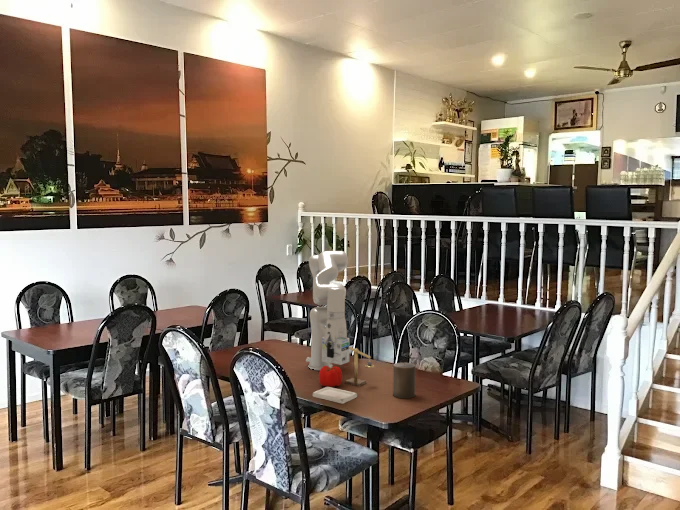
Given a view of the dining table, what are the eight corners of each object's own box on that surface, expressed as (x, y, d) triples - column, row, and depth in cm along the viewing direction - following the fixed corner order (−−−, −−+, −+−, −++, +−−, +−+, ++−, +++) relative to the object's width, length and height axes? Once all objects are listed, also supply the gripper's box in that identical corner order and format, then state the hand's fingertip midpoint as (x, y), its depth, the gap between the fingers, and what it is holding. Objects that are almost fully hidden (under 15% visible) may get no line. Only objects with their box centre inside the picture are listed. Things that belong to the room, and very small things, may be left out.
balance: (334, 381, 284) (335, 344, 283) (342, 378, 289) (342, 342, 288) (370, 388, 273) (370, 350, 271) (376, 385, 278) (377, 347, 276)
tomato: (315, 388, 272) (315, 369, 271) (323, 381, 284) (323, 362, 283) (338, 390, 269) (338, 371, 268) (345, 383, 281) (345, 364, 280)
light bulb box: (349, 362, 259) (350, 337, 258) (341, 365, 253) (341, 340, 253) (329, 358, 265) (329, 334, 264) (320, 361, 259) (321, 337, 258)
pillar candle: (414, 399, 258) (415, 365, 257) (391, 397, 260) (392, 364, 259) (415, 392, 268) (416, 360, 267) (393, 391, 269) (394, 358, 268)
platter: (312, 396, 260) (312, 392, 260) (327, 390, 269) (327, 386, 269) (342, 403, 251) (342, 399, 251) (357, 397, 260) (357, 393, 260)
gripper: (331, 319, 248) (330, 361, 250) (354, 313, 262) (353, 353, 264) (316, 317, 253) (316, 358, 254) (340, 311, 267) (339, 350, 268)
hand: (335, 355), depth 259 cm, fingers closed on light bulb box, 6 cm apart
